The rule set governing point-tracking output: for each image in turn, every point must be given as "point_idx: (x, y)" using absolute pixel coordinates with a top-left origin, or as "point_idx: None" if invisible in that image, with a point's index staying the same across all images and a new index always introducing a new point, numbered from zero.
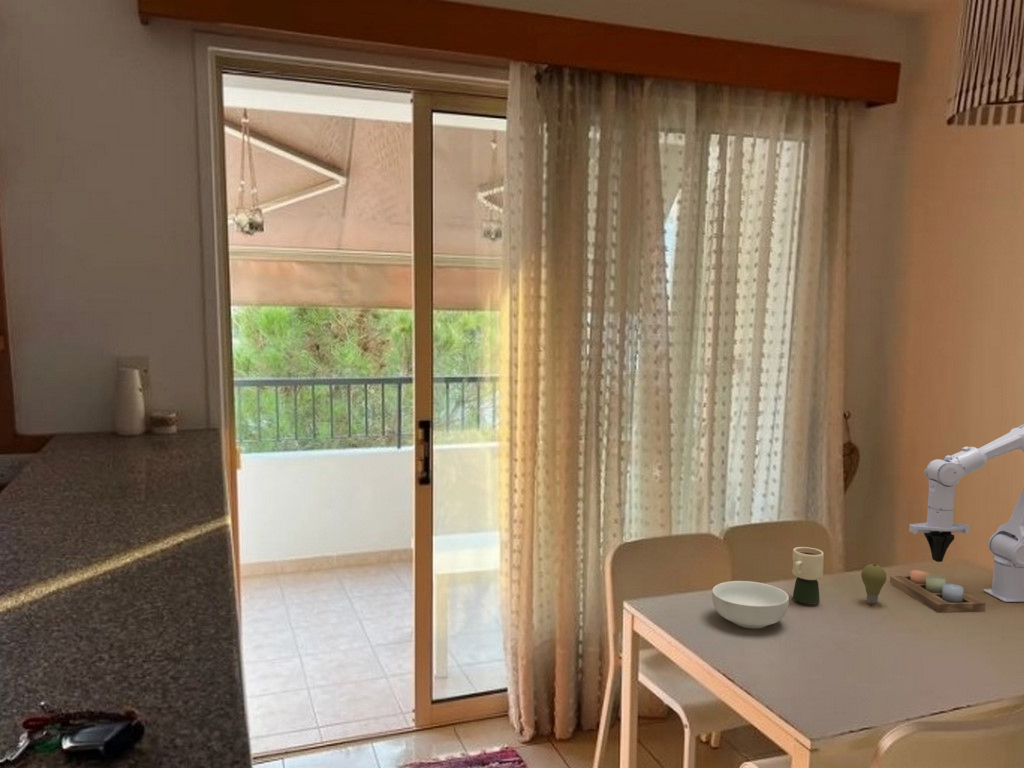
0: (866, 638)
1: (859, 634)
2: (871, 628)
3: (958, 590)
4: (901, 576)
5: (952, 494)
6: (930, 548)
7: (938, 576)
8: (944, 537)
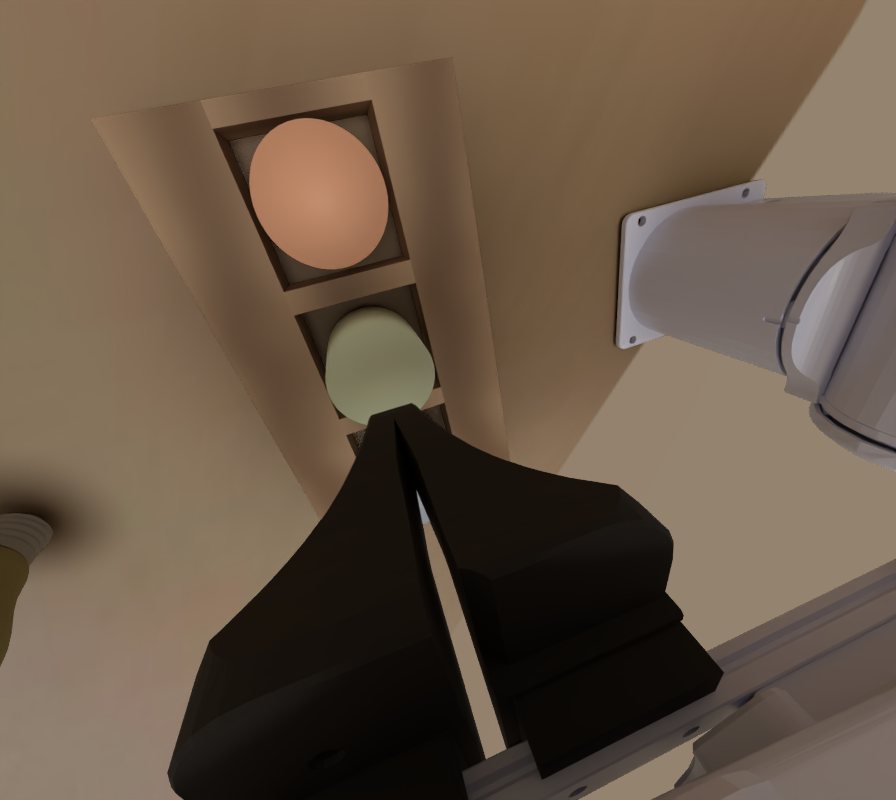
0: (53, 756)
1: (24, 749)
2: (62, 704)
3: (427, 519)
4: (194, 126)
5: None
6: (352, 472)
7: (402, 358)
8: (503, 734)
